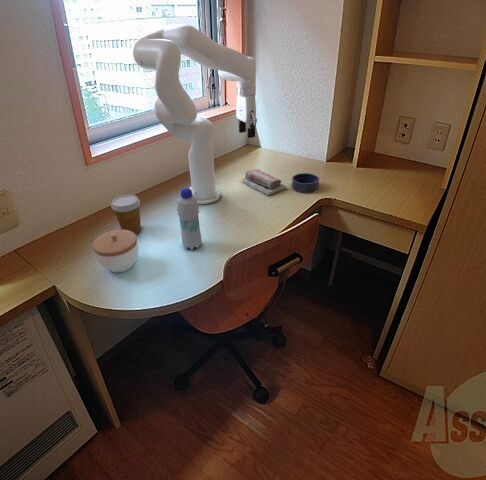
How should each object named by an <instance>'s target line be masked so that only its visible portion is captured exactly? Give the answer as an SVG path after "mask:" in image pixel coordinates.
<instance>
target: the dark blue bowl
mask: <svg viewBox="0 0 486 480" xmlns="http://www.w3.org/2000/svg"><path fill="white" fill-rule="evenodd" d="M319 187H320V177H319V176H318V175H317V174H314V173H309V172H308V173H307V172H304V173H301V172H299V173H296V174H294V175H292V177H291V188H292V189H293V191H295V192H298V193H303V194H309V193H314V192H316V191H317V190H318V189H319Z"/></svg>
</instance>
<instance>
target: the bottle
mask: <svg viewBox="0 0 486 480" xmlns="http://www.w3.org/2000/svg"><path fill="white" fill-rule="evenodd" d="M180 192H181V195H180V197H178V198H177V200H176V212H177V215H178V217H179V218H178V219H179V226H180V234H181V243H182V246H183V247H184V248H185V249H186V250H188V249H190V250H191V251H192V250H194V249H198V248H200V246H201V245H202V243H203V242H202V233H201V227H200V218H199V217H200V215H199V213H200V207H199V204H198V202H197V199H196V197H194V196H192V191H191V190H190V188H183V189H181V190H180Z"/></svg>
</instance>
